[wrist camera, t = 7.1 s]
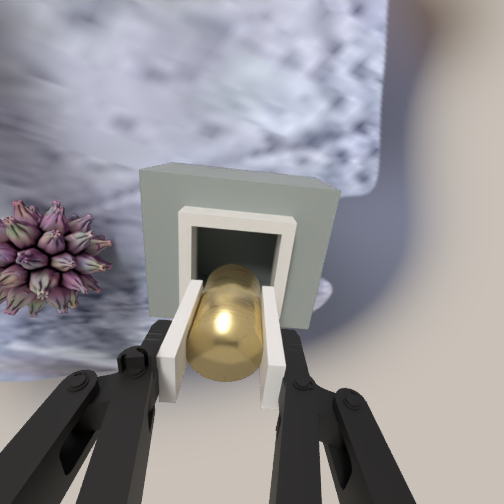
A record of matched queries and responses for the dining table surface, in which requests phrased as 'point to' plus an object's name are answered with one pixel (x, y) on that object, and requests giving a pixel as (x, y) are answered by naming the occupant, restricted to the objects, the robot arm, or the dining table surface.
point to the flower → (48, 259)
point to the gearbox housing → (235, 233)
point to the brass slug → (227, 326)
